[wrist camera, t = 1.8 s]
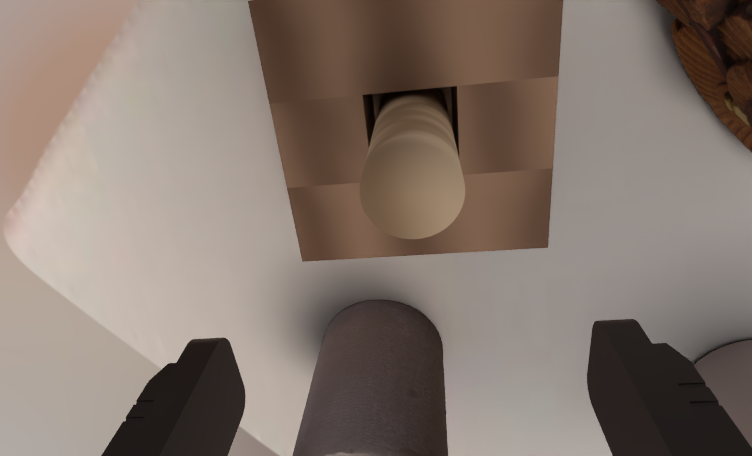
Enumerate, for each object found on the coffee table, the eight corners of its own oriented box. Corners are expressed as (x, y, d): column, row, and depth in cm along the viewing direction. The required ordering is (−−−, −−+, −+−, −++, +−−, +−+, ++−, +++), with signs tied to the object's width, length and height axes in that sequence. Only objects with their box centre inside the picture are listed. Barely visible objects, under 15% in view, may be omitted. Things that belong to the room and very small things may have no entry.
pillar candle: (462, 368, 40) (486, 565, 26) (359, 405, 42) (333, 601, 29) (405, 278, 36) (400, 454, 23) (297, 325, 39) (236, 506, 26)
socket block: (534, -36, 26) (565, -38, 21) (526, 201, 32) (547, 247, 27) (280, -6, 28) (247, 1, 22) (320, 215, 34) (302, 261, 29)
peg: (445, 73, 28) (463, 137, 17) (448, 140, 30) (466, 236, 19) (376, 80, 28) (352, 147, 18) (383, 146, 30) (366, 242, 20)
